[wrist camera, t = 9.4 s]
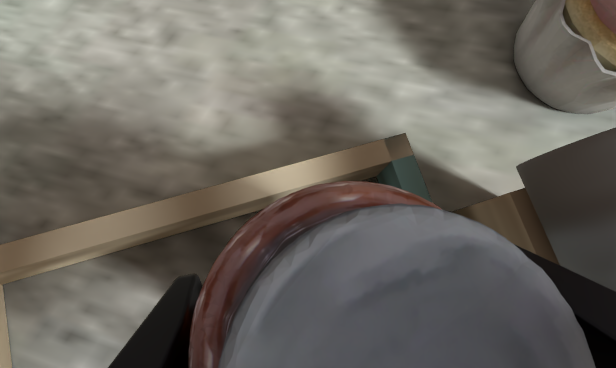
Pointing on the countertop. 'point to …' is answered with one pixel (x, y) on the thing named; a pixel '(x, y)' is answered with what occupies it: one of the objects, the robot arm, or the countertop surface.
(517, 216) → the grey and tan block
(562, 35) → the cupcake
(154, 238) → the frame
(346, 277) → the supplement bottle
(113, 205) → the countertop surface
